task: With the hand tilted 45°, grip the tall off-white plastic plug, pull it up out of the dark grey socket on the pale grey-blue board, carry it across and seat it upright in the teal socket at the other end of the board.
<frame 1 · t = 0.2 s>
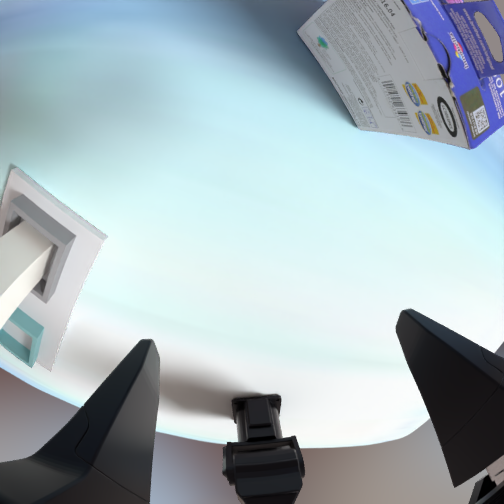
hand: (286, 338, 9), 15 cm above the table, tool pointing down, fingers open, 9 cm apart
ink cartridge box: (354, 68, 18), on the table
socket board: (29, 288, 23), on the table
plug: (37, 246, 20), point 1 cm above the table, touching socket board
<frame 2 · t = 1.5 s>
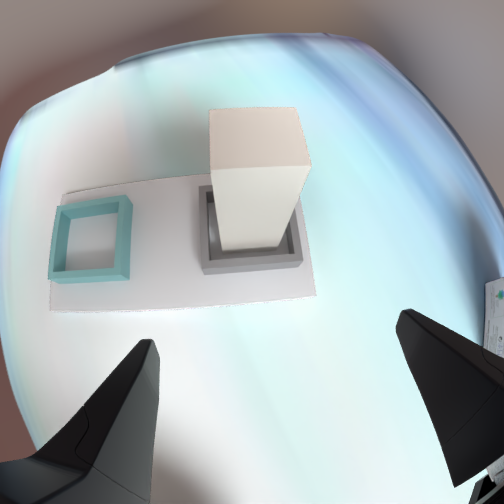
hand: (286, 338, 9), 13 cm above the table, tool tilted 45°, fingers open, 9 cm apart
ink cartridge box: (494, 324, 23), on the table
socket board: (167, 241, 24), on the table
plug: (247, 230, 24), point 1 cm above the table, touching socket board
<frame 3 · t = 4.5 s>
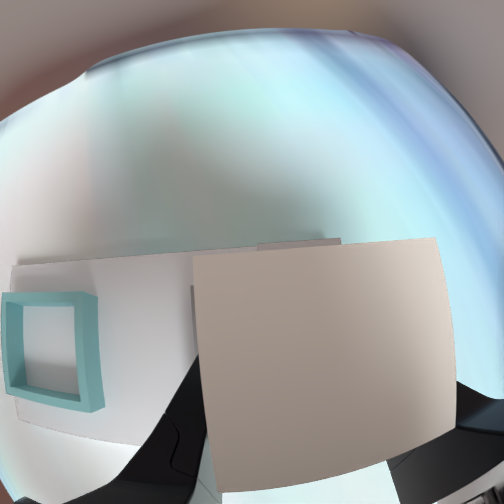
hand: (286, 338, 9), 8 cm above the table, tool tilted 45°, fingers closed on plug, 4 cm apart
socket board: (151, 353, 16), on the table
plug: (267, 347, 15), point 1 cm above the table, touching gripper, socket board
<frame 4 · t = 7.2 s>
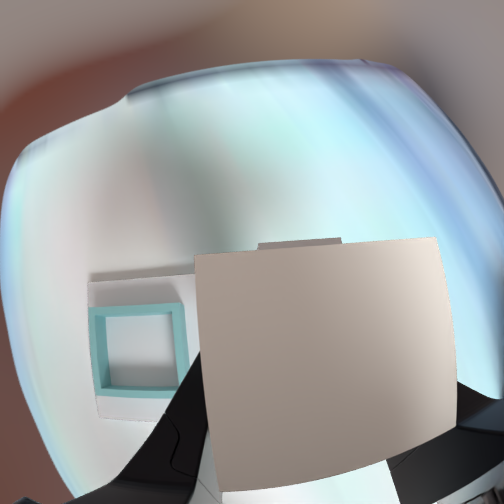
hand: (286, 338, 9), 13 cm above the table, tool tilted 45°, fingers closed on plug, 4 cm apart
socket board: (229, 346, 22), on the table
plug: (267, 346, 15), point 7 cm above the table, touching gripper
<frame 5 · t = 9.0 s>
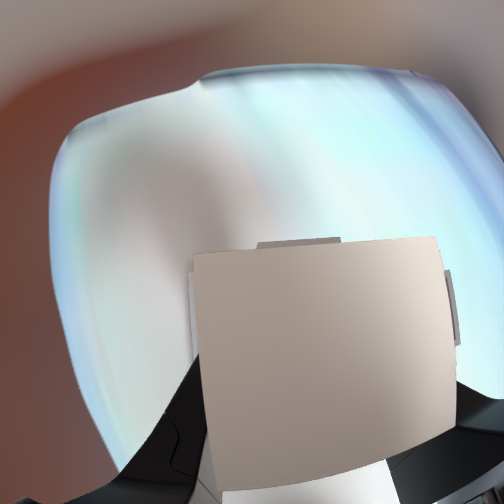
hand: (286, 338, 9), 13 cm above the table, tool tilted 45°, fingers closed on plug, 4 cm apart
socket board: (342, 332, 22), on the table
plug: (267, 346, 15), point 6 cm above the table, touching gripper
when the fingers open (9 cm above the table, at t = 10.2 s): plug stays where it is, resting on socket board.
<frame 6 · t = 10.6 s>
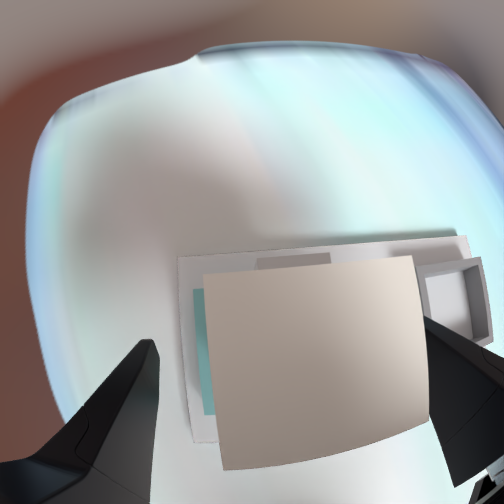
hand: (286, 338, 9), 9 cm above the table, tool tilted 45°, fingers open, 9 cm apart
socket board: (364, 331, 18), on the table
plug: (266, 347, 16), point 1 cm above the table, touching socket board
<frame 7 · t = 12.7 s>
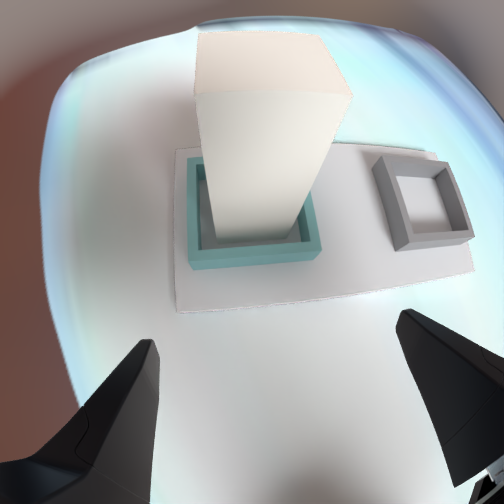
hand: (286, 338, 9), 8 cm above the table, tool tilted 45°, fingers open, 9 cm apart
socket board: (342, 214, 20), on the table
plug: (249, 214, 18), point 1 cm above the table, touching socket board
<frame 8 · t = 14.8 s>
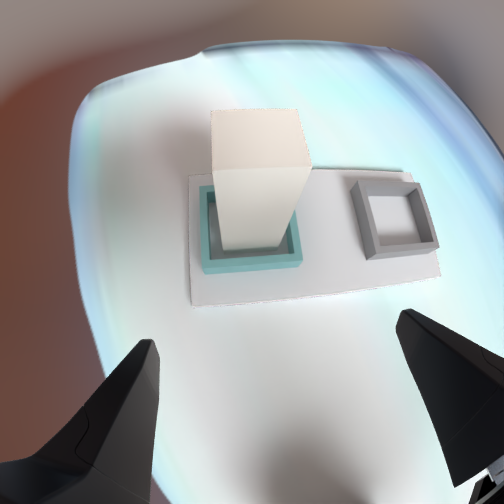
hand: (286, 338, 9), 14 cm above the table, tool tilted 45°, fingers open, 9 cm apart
socket board: (323, 229, 25), on the table
plug: (248, 231, 24), point 1 cm above the table, touching socket board
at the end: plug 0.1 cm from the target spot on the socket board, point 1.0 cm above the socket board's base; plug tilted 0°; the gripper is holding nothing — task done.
